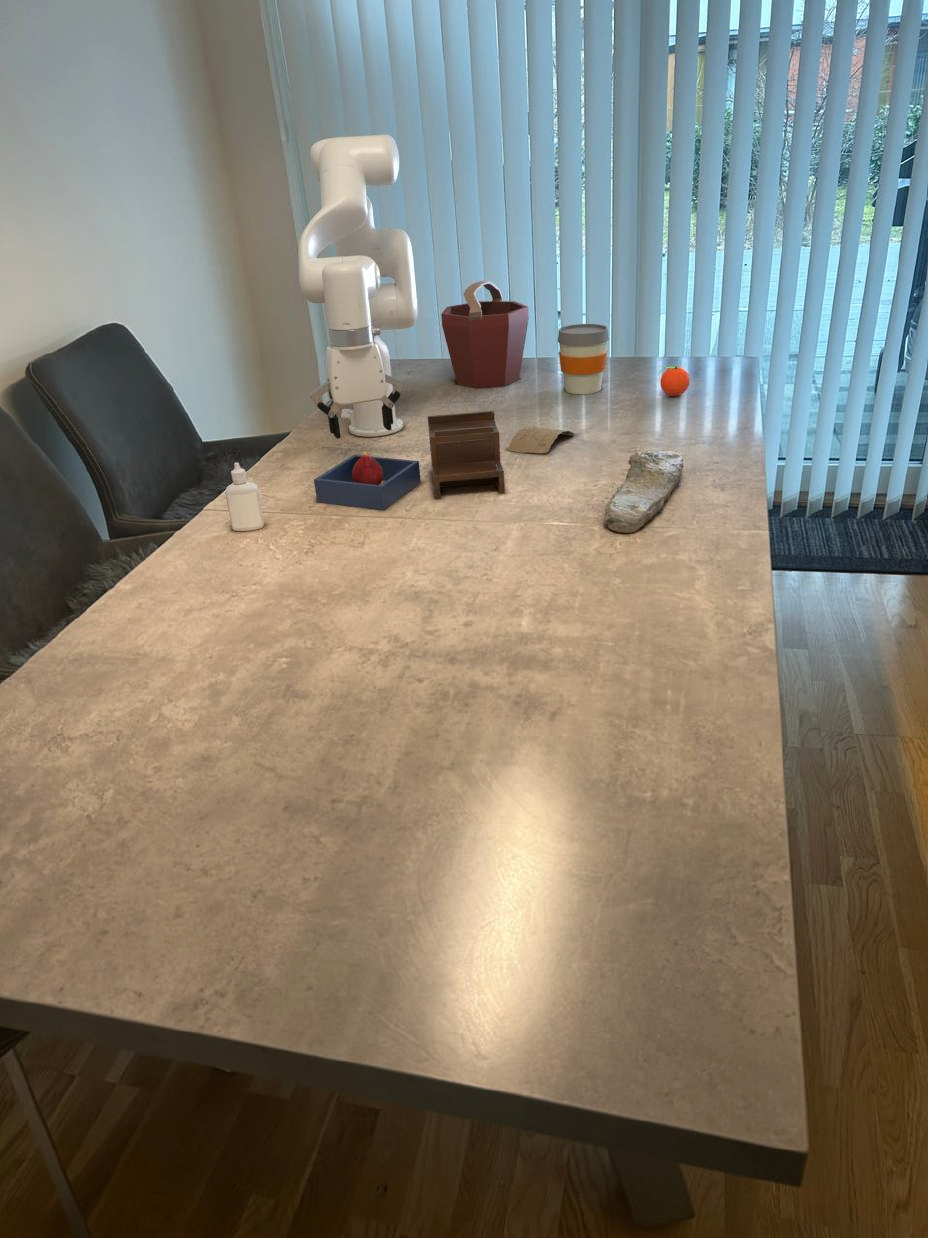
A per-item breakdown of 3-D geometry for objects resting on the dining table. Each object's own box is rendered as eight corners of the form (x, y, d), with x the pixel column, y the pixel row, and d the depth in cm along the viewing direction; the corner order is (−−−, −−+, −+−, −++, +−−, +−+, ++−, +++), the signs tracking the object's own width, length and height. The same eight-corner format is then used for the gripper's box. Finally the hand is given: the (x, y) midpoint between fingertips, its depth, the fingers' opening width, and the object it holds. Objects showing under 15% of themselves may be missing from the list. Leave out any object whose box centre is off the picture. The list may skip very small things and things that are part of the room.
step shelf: (504, 493, 166) (502, 433, 160) (435, 499, 165) (430, 439, 160) (496, 466, 179) (493, 410, 173) (432, 472, 178) (427, 415, 173)
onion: (390, 488, 172) (386, 448, 168) (375, 499, 167) (370, 458, 163) (364, 485, 174) (359, 446, 170) (349, 496, 169) (343, 455, 166)
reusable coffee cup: (553, 385, 231) (553, 325, 224) (601, 381, 232) (602, 321, 225) (563, 397, 220) (563, 335, 213) (613, 393, 221) (614, 331, 214)
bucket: (496, 395, 226) (491, 292, 214) (425, 387, 237) (417, 289, 225) (542, 372, 244) (540, 275, 232) (475, 366, 255) (469, 273, 243)
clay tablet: (547, 455, 183) (547, 442, 182) (505, 449, 188) (504, 437, 186) (577, 435, 193) (577, 423, 192) (536, 430, 198) (536, 418, 197)
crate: (317, 502, 168) (313, 479, 165) (356, 476, 179) (354, 454, 177) (384, 510, 162) (381, 486, 160) (421, 482, 173) (419, 460, 171)
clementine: (650, 397, 216) (652, 367, 212) (662, 390, 221) (664, 361, 217) (682, 400, 212) (683, 370, 208) (693, 393, 217) (695, 364, 213)
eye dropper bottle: (255, 533, 156) (242, 468, 150) (228, 530, 158) (215, 466, 152) (268, 524, 159) (257, 460, 154) (242, 521, 161) (230, 457, 156)
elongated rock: (588, 537, 149) (647, 547, 145) (590, 509, 146) (649, 518, 142) (641, 459, 175) (691, 466, 172) (643, 434, 172) (694, 440, 169)
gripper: (392, 328, 162) (401, 420, 170) (298, 340, 157) (312, 434, 165) (404, 334, 156) (413, 430, 164) (307, 347, 151) (320, 445, 159)
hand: (362, 432), depth 164 cm, fingers open, 9 cm apart
